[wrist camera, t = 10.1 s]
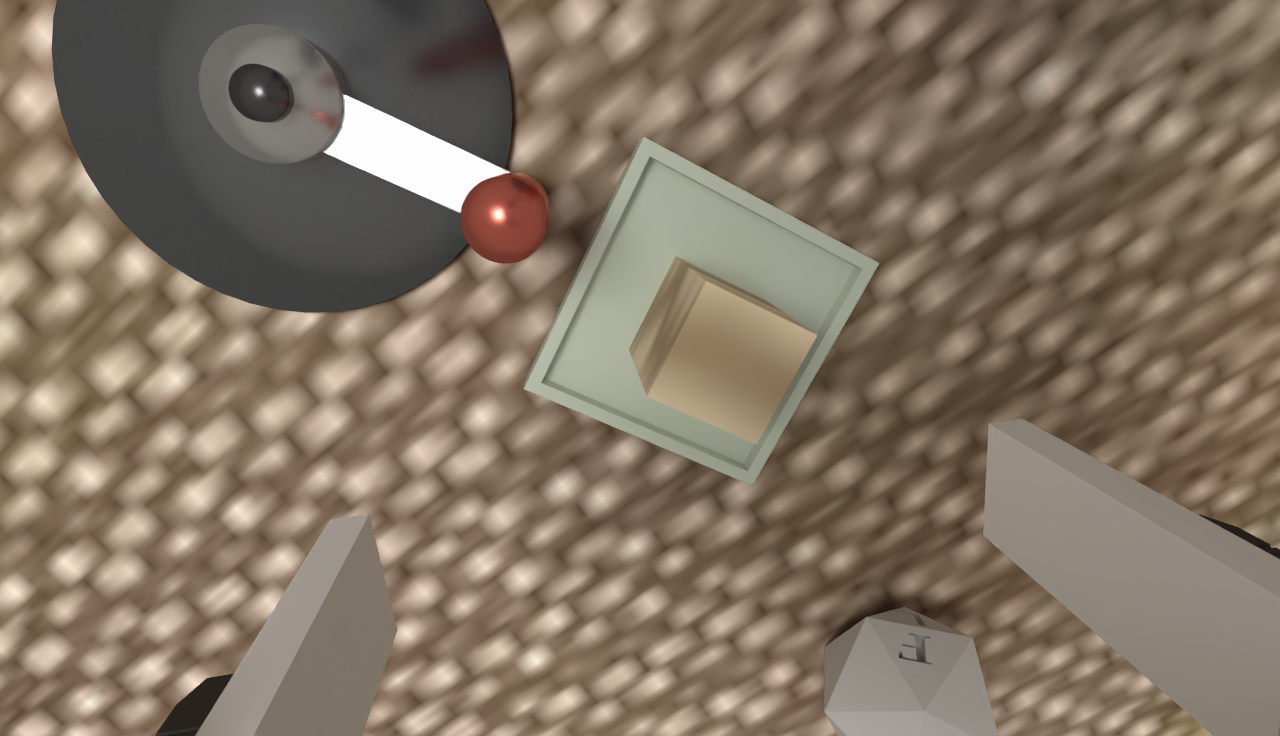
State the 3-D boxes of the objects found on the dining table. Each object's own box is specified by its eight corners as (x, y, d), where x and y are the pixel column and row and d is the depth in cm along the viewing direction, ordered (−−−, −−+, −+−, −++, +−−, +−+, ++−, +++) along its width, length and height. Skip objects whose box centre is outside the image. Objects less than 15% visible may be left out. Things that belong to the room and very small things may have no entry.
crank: (209, 130, 29) (71, 118, 21) (246, 10, 28) (116, -53, 19) (525, 268, 32) (514, 306, 24) (569, 165, 31) (574, 167, 23)
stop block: (675, 255, 33) (706, 280, 26) (765, 300, 34) (817, 335, 27) (628, 349, 34) (646, 396, 27) (717, 389, 35) (756, 444, 28)
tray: (639, 137, 32) (643, 136, 30) (866, 258, 34) (879, 263, 33) (525, 379, 34) (524, 388, 33) (744, 472, 37) (752, 485, 36)
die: (969, 618, 42) (1026, 630, 33) (961, 780, 40) (1019, 842, 31) (826, 591, 44) (840, 595, 35) (810, 745, 42) (821, 793, 33)
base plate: (135, -251, 26) (60, -325, 22) (580, 3, 30) (584, -20, 26) (9, 200, 29) (-75, 207, 25) (420, 371, 33) (402, 399, 30)
